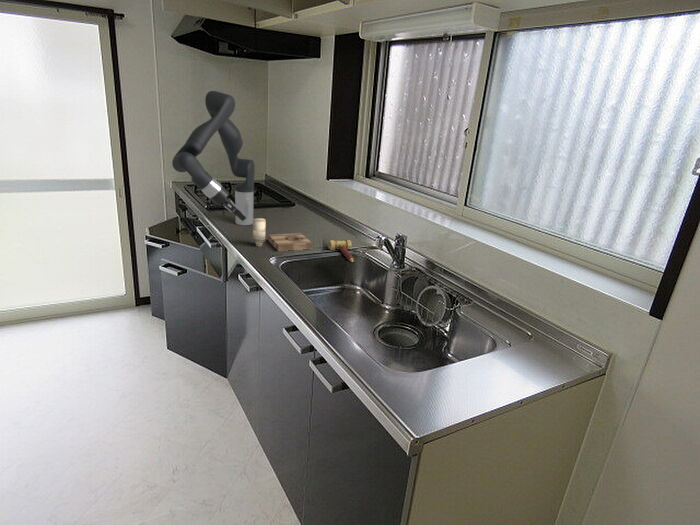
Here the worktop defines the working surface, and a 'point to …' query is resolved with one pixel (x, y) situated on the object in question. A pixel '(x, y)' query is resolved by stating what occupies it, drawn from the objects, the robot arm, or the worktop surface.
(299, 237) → the board
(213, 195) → the robot arm
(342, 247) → the gavel
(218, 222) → the worktop surface
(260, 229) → the cream upside-down bottle
